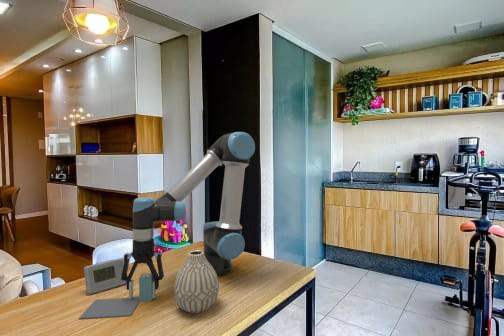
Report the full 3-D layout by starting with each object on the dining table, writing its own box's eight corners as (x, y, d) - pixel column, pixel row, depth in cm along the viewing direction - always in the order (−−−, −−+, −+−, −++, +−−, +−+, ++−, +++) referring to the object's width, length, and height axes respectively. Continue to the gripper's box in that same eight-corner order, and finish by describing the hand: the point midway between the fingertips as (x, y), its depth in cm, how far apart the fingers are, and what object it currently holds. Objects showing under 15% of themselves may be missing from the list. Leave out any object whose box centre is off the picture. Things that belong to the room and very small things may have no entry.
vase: (181, 296, 115) (180, 245, 114) (222, 296, 115) (221, 245, 114) (168, 319, 99) (166, 260, 98) (215, 319, 99) (214, 260, 98)
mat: (141, 298, 114) (141, 297, 114) (131, 316, 101) (130, 315, 101) (95, 300, 113) (95, 299, 113) (78, 319, 100) (78, 318, 100)
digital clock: (85, 296, 116) (84, 270, 116) (84, 288, 124) (83, 263, 123) (129, 286, 125) (128, 261, 124) (125, 279, 132) (125, 255, 132)
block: (154, 295, 116) (154, 272, 116) (151, 300, 112) (151, 277, 112) (142, 295, 116) (142, 272, 116) (139, 301, 112) (138, 277, 111)
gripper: (172, 235, 118) (172, 292, 118) (118, 235, 116) (118, 293, 117) (169, 241, 110) (168, 301, 111) (111, 241, 108) (110, 302, 109)
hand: (142, 297), depth 114 cm, fingers open, 8 cm apart
